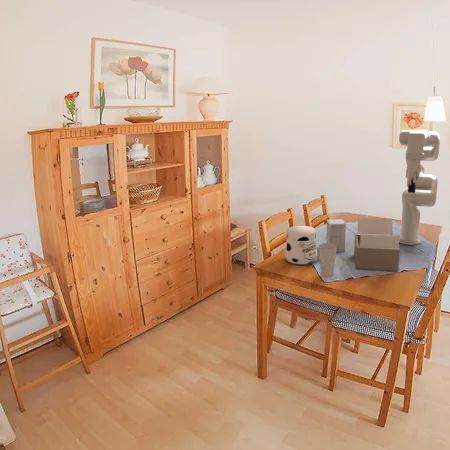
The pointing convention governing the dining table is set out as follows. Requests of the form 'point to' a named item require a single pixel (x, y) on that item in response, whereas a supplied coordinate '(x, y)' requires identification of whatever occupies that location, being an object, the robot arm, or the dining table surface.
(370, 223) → the back flap
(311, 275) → the dining table surface
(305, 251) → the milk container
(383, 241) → the front flap
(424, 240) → the dining table surface
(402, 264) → the dining table surface
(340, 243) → the small drawer cabinet
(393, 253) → the carton
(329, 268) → the cup
